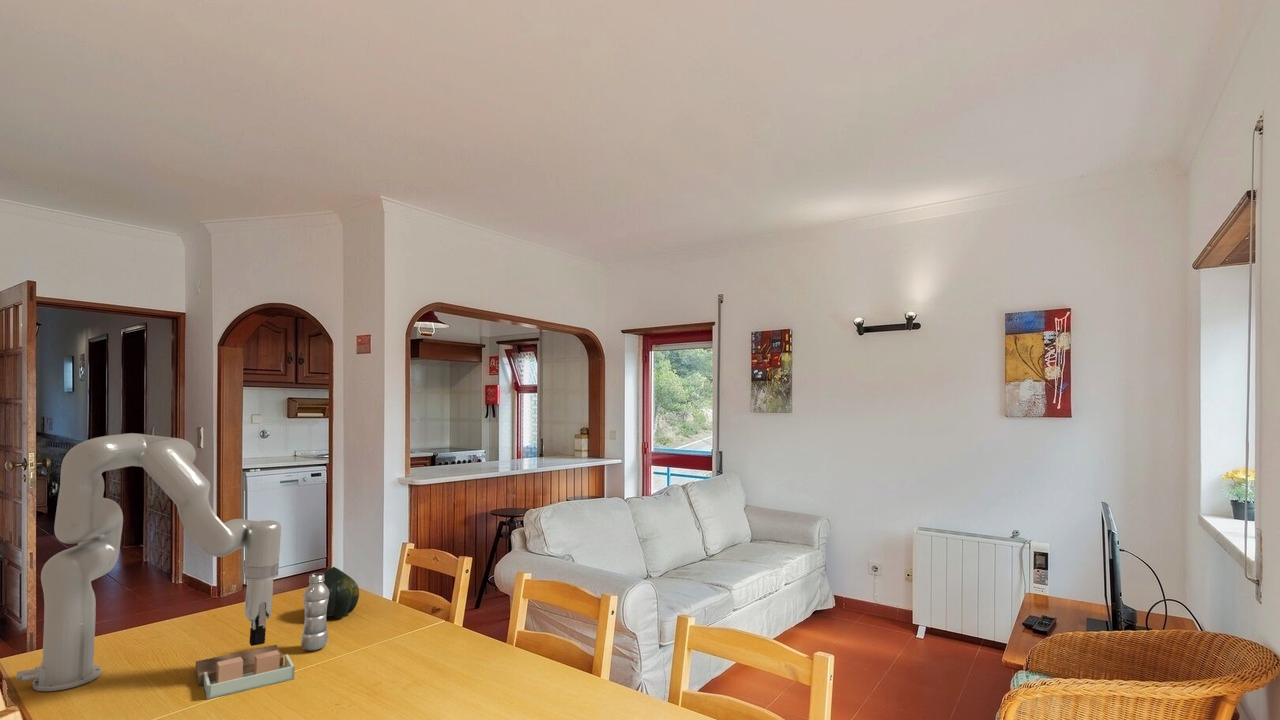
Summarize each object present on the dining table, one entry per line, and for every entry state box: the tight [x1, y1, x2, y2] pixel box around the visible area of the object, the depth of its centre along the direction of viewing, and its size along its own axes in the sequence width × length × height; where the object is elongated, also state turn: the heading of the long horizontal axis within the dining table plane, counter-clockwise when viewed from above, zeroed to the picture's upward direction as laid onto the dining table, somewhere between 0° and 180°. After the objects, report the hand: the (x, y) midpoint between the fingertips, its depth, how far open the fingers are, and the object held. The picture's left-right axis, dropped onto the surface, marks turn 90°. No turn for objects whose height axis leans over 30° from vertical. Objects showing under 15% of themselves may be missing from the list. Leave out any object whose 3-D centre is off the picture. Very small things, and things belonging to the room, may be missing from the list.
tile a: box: [216, 657, 243, 683], centre depth 159 cm, size 5×5×3 cm
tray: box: [203, 653, 296, 700], centre depth 161 cm, size 18×9×3 cm, turn 128°
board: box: [195, 644, 284, 687], centre depth 167 cm, size 18×10×2 cm, turn 128°
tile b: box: [254, 650, 280, 675], centre depth 164 cm, size 5×5×3 cm
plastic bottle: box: [300, 572, 329, 652], centre depth 181 cm, size 6×7×20 cm
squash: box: [323, 566, 360, 619], centre depth 207 cm, size 14×15×15 cm
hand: (257, 643), depth 168 cm, fingers closed
